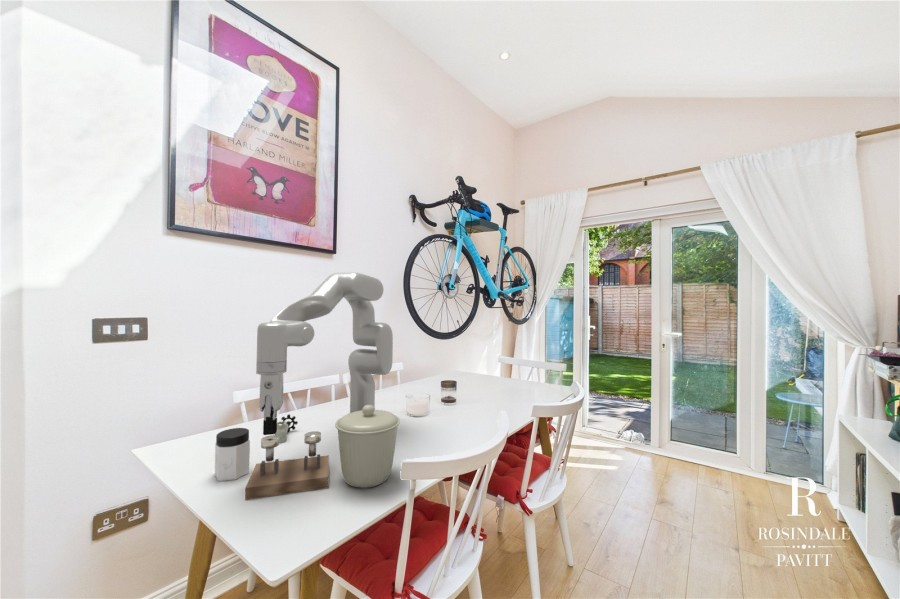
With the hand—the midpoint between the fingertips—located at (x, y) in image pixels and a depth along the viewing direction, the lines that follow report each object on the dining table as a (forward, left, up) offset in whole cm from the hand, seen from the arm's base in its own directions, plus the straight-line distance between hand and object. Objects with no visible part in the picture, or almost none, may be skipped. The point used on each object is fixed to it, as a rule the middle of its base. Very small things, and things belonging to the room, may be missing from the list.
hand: (270, 433), depth 97 cm
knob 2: (-11, 0, -7) cm, 13 cm away
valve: (0, -35, -14) cm, 38 cm away
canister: (-26, +5, -14) cm, 30 cm away
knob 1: (0, 0, -7) cm, 7 cm away
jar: (+11, -9, -14) cm, 20 cm away
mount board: (-6, 0, -14) cm, 15 cm away
